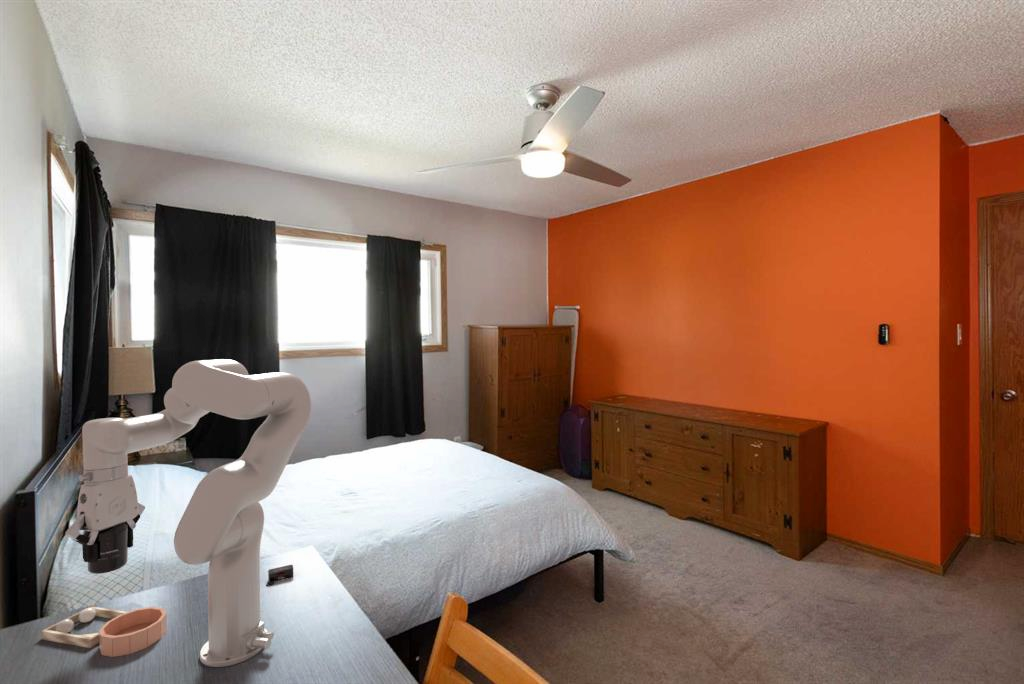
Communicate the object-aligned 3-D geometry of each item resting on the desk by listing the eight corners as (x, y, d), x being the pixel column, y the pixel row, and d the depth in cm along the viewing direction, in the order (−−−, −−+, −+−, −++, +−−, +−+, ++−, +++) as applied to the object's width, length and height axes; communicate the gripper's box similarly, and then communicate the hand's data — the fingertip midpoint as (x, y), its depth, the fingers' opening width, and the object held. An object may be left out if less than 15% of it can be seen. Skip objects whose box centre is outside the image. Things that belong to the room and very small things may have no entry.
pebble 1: (77, 630, 108) (77, 617, 108) (62, 638, 105) (61, 624, 105) (67, 628, 109) (67, 615, 109) (51, 636, 106) (51, 623, 106)
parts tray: (137, 621, 111) (137, 613, 111) (90, 648, 102) (90, 639, 102) (90, 614, 115) (90, 606, 115) (41, 640, 105) (41, 631, 105)
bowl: (178, 628, 109) (177, 610, 109) (128, 660, 98) (128, 640, 98) (139, 621, 111) (138, 604, 111) (86, 652, 100) (86, 633, 100)
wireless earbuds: (265, 581, 130) (264, 570, 130) (292, 575, 133) (292, 564, 133) (265, 589, 126) (265, 577, 126) (294, 582, 129) (294, 570, 129)
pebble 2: (99, 618, 112) (99, 606, 112) (85, 626, 110) (85, 613, 110) (89, 617, 113) (89, 604, 113) (75, 624, 110) (75, 611, 110)
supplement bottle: (104, 576, 103) (104, 520, 103) (79, 573, 104) (79, 518, 104) (135, 561, 109) (135, 509, 109) (111, 558, 111) (111, 507, 111)
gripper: (75, 486, 97) (78, 574, 97) (157, 464, 114) (159, 539, 114) (48, 485, 99) (51, 571, 99) (132, 463, 116) (135, 537, 116)
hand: (109, 553), depth 107 cm, fingers closed on supplement bottle, 6 cm apart
